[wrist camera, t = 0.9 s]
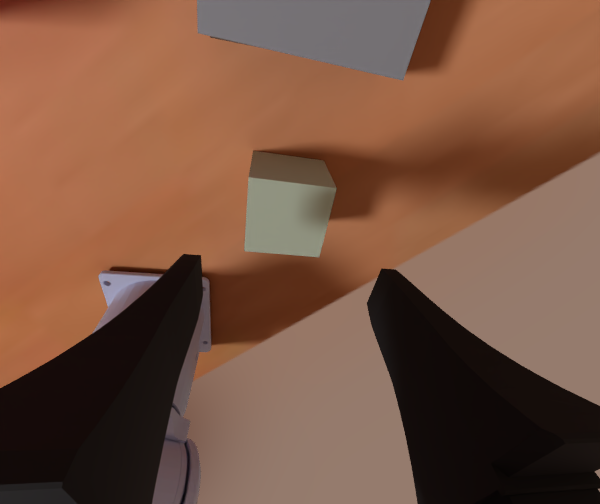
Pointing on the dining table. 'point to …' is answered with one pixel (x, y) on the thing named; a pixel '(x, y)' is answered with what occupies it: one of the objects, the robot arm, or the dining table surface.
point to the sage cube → (287, 204)
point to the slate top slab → (323, 29)
